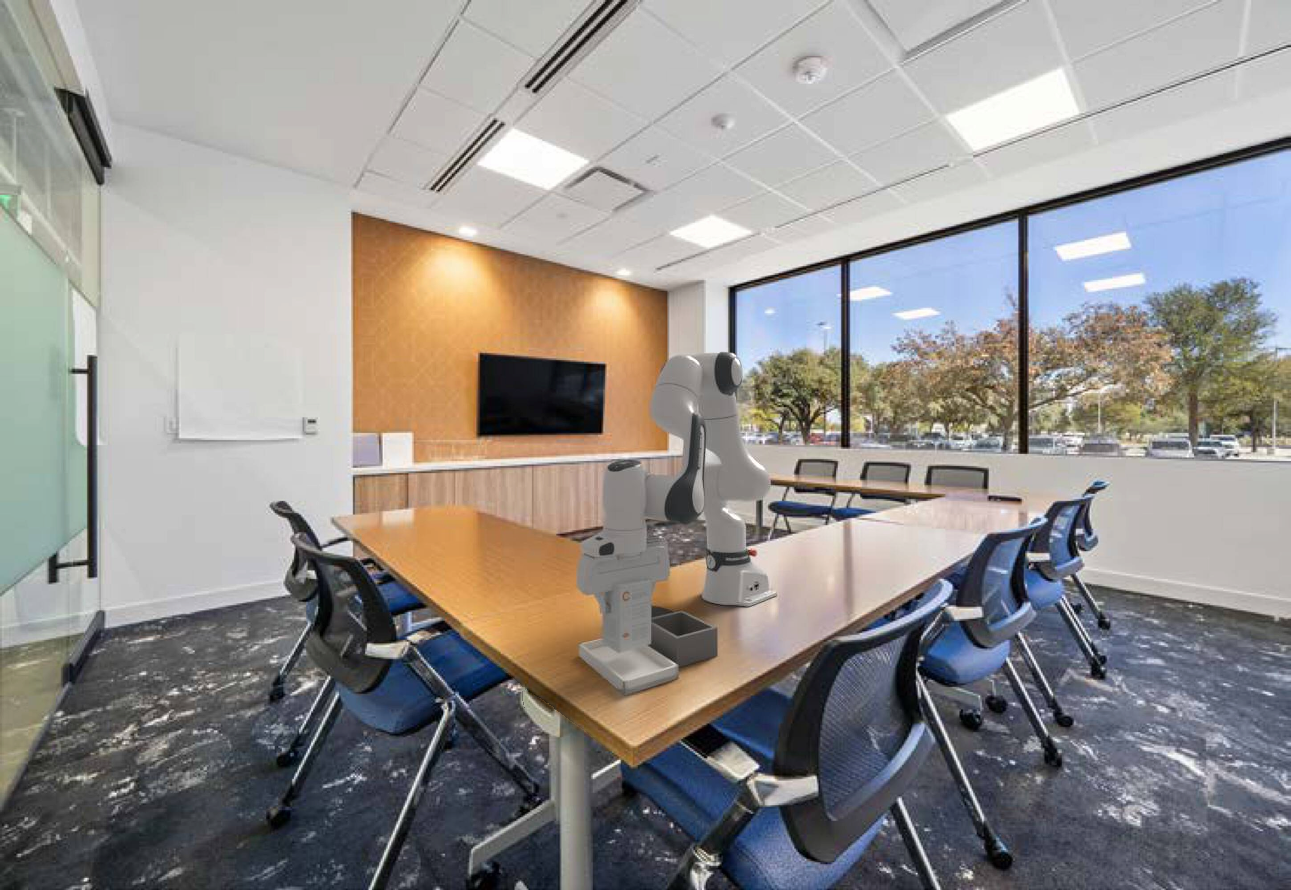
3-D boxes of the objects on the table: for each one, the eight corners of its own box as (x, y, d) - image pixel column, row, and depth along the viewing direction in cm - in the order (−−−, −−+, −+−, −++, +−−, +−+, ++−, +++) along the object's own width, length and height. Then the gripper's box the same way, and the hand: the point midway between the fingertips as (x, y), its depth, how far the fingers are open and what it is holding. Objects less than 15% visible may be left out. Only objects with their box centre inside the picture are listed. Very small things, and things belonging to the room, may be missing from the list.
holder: (682, 636, 119) (682, 610, 119) (717, 655, 108) (717, 627, 108) (644, 646, 114) (643, 619, 113) (677, 668, 103) (676, 638, 103)
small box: (633, 634, 108) (634, 573, 108) (651, 644, 103) (652, 580, 103) (601, 643, 103) (601, 579, 103) (618, 654, 98) (619, 586, 98)
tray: (627, 643, 116) (627, 632, 115) (678, 678, 99) (678, 665, 98) (578, 655, 109) (578, 644, 109) (624, 695, 92) (624, 682, 92)
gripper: (659, 532, 112) (659, 595, 112) (572, 544, 101) (573, 613, 101) (675, 537, 106) (676, 603, 106) (586, 550, 95) (587, 623, 96)
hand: (625, 608), depth 104 cm, fingers closed on small box, 8 cm apart
